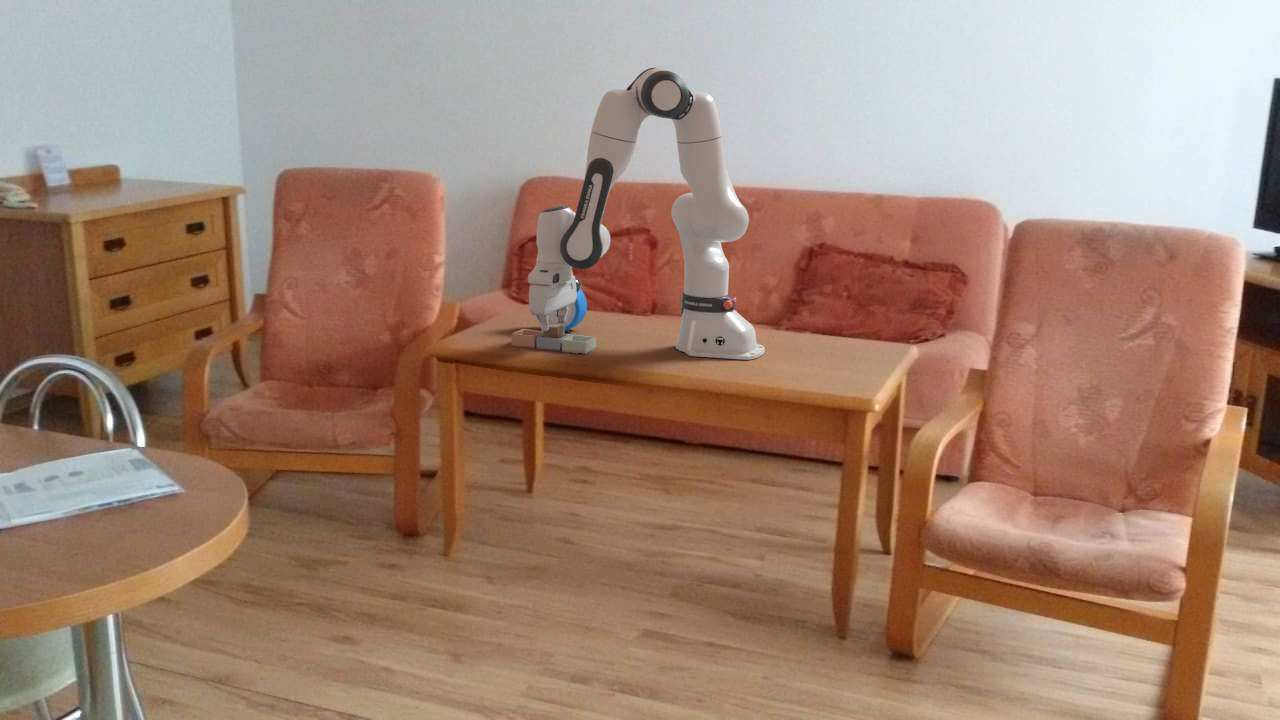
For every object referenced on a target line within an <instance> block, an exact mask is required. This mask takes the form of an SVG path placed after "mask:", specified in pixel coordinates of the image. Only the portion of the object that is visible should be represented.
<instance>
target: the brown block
mask: <svg viewBox="0 0 1280 720" xmlns="http://www.w3.org/2000/svg"><path fill="white" fill-rule="evenodd" d="M565 334H566V331H565V325H559V324H550V330H548V331H543V337H547V338H556V339H560V338H562V337H564V336H565Z"/></svg>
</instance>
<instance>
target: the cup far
mask: <svg viewBox="0 0 1280 720" xmlns="http://www.w3.org/2000/svg"><path fill="white" fill-rule="evenodd" d="M542 334H543V331H542V330H537V329H528V328H522V329H520V330H517V331H515V332H513V333H511V346H515V347H520V348H521V347H522V348H523V347H524V348H529V349H535V348H536V349H537V336H539V335H542Z"/></svg>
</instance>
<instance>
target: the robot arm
mask: <svg viewBox="0 0 1280 720" xmlns="http://www.w3.org/2000/svg"><path fill="white" fill-rule="evenodd" d="M649 116H654V117H657V118H660V119H669V120H672V122H673V126H674V128H675V137H676V144H677V151H678V160H679V169H680V174H681V175H682V177H683V179H684V180H685V181H686V184H688V187H689V189H690V192H687V193H684V194H681V195H680V196H678V197H677V198H676V199H675V200H674V202H673V203H672V206H671V207H672V208H671V211H670V215H671V220H672V221H673V222H672V223H674V226H675V227H676V229H677V231H678V235H679V238H680V239H679V240H680V244H681V247H682V248H681V249H682V253H683V261H684V277H683V279H684V280H683V283H684V284H683V285H684V286H683V287H684V288H683V289H684V290H683V292H682V295H681V300H680V301H681V302H680V303H681V304H680V307H681V315H682V316H681V323H680V329H679V334H678V339H677V341H676V344H675V349H677V350H678V351H680V352H684V353H685V354H686V355H688V356H689V357H700V358H701V357H702V358H713V359H714V358H715V359H730V360H744V361H747V360H748V361H749V360H754V359H757V358H759V357H761V356H763V355H764V354H765V351H766V349H765V346H764V345H762V344H759V343H757V335H756V330H755V328H754V326H753V324H752V323H750V322H749V321H748V320H747V319H745V317H743V316H742V315H741V314H740V313H739V312H738V311H737V310H735V307H736V302H737V297H732V296H731V295H730V294H729V280H730V279H729V278H730V276H729V275H730V264H729V261H728V259H727V257H726V256H725V253H724V250H723V248H722V243H729V242H735V241H737V240H740V239H741V238H742V237H743V236H744V235H745V233H747V229H748V227H749V223H750V222H749V221H750V219H749V213H748V211H747V209H746V207H745V206H744V205H743V204H742V203H741V201H740V200H739V198H738V196H737V194H736V190H735V189H734V185H733V183H732V181H731V178H730V173H729V171H728V168H727V163H726V155H725V147H724V140H723V132H722V125H721V119H720V115H719V111H718V107H717V105H716V101H715V99H714V98H713V96H712V95H711V94H709V93H708V92H705V91H704V92H703V91H691V90H690V89H689V87H688V86H687V84H686V83H685V81H684V80H683V79H682V78H681V77H680V76H679V75H678V74H677V73H675V72H673V71H672V70H671V69H667V68H664V67H650V68H647V69H645V70H643V71H642V72H641V73H639V74H638V75H637V76H636V78H635V79H634V80H633V82H631V84H630V85H629V86H628V87H627V88H626V89H622V88H621V89H620V88H617V89H616V88H615V89H611V90H609V91H607V92H605V93H604V95H603V96H602V98H601V101H600V103H599V105H598V108H597V110H596V114H595V116H594V120H593V123H592V128H591V131H590V135H589V141H588V147H587V156H586V165H585V166H586V167H585V173H584V181H583V185H582V189H581V192H580V196H579V200H578V205H577V208H576V210H575V211H576V212H575V211H573V209H571V208H570V207H569V206H566V205H563V206H561V205H560V206H553V207H549V208H546V209H544V210H543V211H541V212H540V213H539V214H538V218H537V222H536V223H537V226H536V242H535V243H536V246H537V255H536V262H535V263H536V264H535V266H534V268H533V269H532V270H531V272H529V274H527V275H528V276H527V282H528V284H530V285H529V289H528V306H529V307H528V308H529V311H530V314H531V315H533V316H536V315H539V320H540V321H539V320H538V321H539V323H540V322H541V323H540V329H541V330H540V331H548V330H550V323H549V322H548V317H549V313H551V312H553V311H556V310H558V309H560V312H559V316H558V323H561V324H563V323H565V322H566V316H567V313H568V309H569V305H570V304H572V303H575V301H576V297H577V292H576V279H575V277H576V276H575V275H574V272H573V268H574V269H577V270H588V269H590V268H592V267H593V266H595V265H596V264H597V263H598V262H599V260H600V259H601V258H602V257H603V256H604V255H605V254H606V253H607V252H608V251H609V249H610V247H611V241H612V239H611V233H610V232H609V231H610V230H608V228H607V227H606V226H605V225H604V224H603V223H602V221H603V216H604V214H605V209H606V205H607V202H608V198H609V195H610V192H611V190H612V189H613V187H614V185H615V184H616V183H617V181H618V179H620V177H621V176H622V175H623V174H624V172H626V170H627V169H628V166H629V164H630V162H631V160H632V158H633V154H634V152H635V148H636V145H637V144H636V143H637V139H638V135H639V130H640V128H641V125H642V123H643V122H644V120H645V119H647V117H649Z"/></svg>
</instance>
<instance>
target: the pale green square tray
mask: <svg viewBox="0 0 1280 720" xmlns="http://www.w3.org/2000/svg"><path fill="white" fill-rule="evenodd" d="M594 349H595V350H597V337H596V336H588V335H580V334H572V335H571V336H569V337H567V338H565V339H563V340H562V350H561V352H563V353H570V352H571V353H572V354H578V353H582V354H581V355H587V354H589V353H591V352H592V350H593V351H595V350H594ZM590 351H591V352H590ZM588 352H589V353H588Z"/></svg>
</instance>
